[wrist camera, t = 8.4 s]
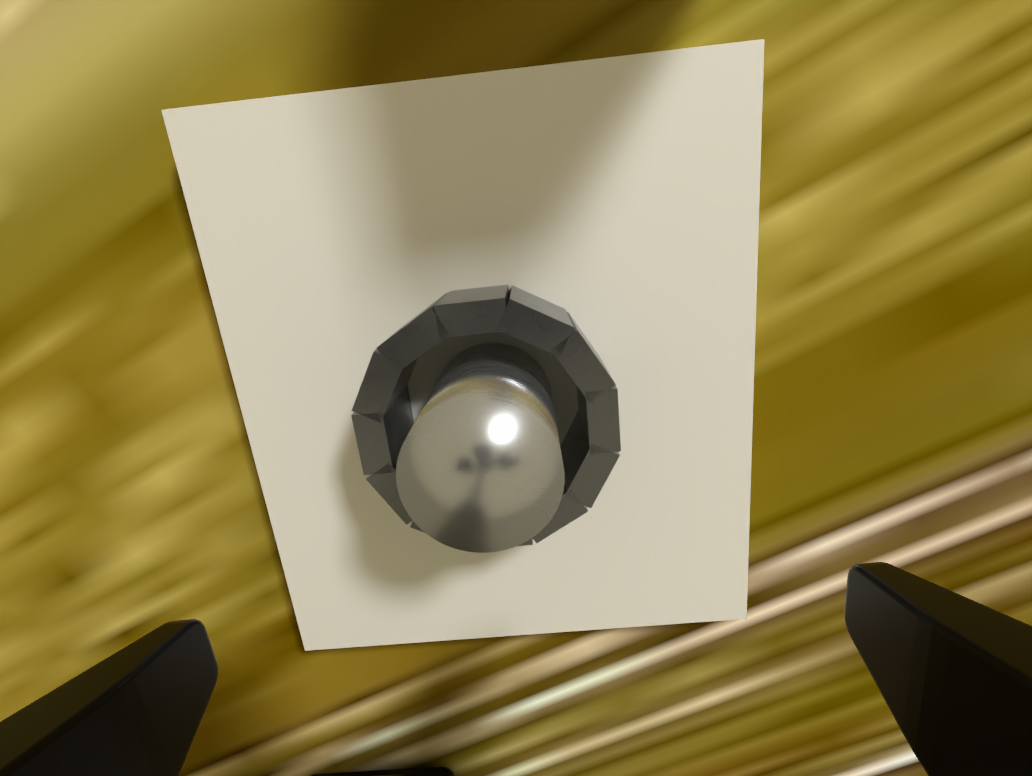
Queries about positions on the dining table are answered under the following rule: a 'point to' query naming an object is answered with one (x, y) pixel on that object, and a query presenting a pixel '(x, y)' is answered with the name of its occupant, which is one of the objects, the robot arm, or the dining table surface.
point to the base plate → (483, 263)
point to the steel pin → (484, 453)
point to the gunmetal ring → (479, 311)
